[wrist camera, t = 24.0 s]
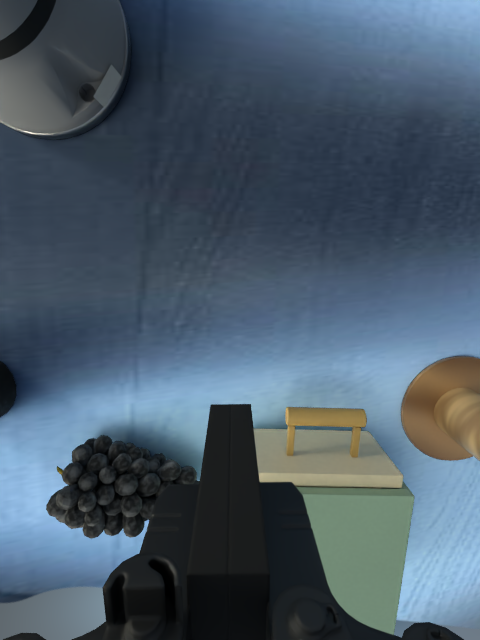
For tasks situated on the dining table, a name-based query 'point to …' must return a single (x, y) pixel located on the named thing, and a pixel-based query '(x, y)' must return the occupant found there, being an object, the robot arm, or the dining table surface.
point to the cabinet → (362, 547)
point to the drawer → (324, 452)
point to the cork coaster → (424, 398)
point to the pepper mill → (460, 418)
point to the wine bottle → (6, 389)
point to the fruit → (113, 487)
